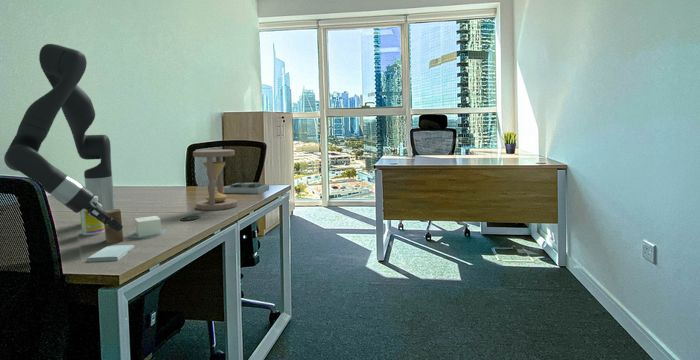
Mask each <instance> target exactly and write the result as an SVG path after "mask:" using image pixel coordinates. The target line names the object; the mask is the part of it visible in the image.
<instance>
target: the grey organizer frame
mask: <svg viewBox="0 0 700 360" xmlns="http://www.w3.org/2000/svg"><path fill="white" fill-rule="evenodd" d="M231 185H232V184H230V185H227V186H223V194H254V195H257V194H261V193H264V192H266V190H267V191H269V190H270V184H269V183H261V187H258V188H242V187H231Z"/></svg>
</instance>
